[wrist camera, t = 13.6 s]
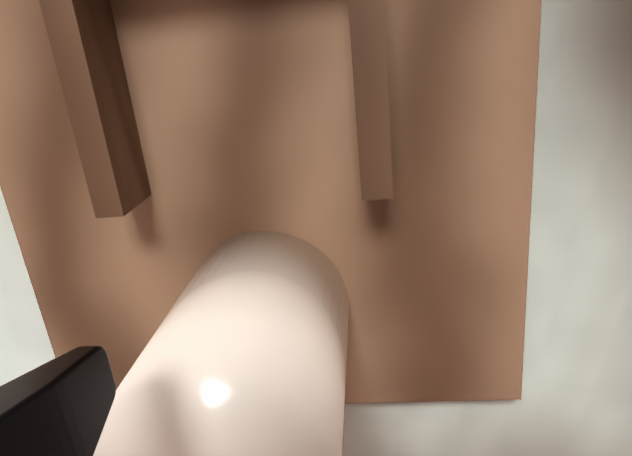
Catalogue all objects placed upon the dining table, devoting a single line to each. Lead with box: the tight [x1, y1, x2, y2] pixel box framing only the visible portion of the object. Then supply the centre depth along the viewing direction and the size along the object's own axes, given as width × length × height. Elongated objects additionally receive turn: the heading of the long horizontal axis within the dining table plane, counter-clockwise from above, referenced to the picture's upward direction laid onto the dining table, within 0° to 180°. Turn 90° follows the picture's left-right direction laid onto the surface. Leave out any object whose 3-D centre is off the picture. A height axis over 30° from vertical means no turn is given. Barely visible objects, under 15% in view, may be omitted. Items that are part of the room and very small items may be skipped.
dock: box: [0, 0, 541, 403], centre depth 19 cm, size 20×20×4 cm
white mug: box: [93, 231, 349, 456], centre depth 18 cm, size 10×6×9 cm, turn 6°
